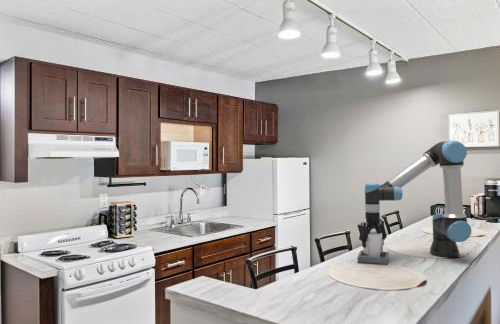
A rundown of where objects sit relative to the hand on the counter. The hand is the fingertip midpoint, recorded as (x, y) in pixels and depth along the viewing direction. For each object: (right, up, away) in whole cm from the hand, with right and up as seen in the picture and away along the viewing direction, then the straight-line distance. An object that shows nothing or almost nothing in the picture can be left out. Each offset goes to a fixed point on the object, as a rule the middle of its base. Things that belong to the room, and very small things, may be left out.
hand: (373, 252), depth 212 cm
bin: (0, -5, 0) cm, 5 cm away
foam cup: (0, -3, 0) cm, 3 cm away
